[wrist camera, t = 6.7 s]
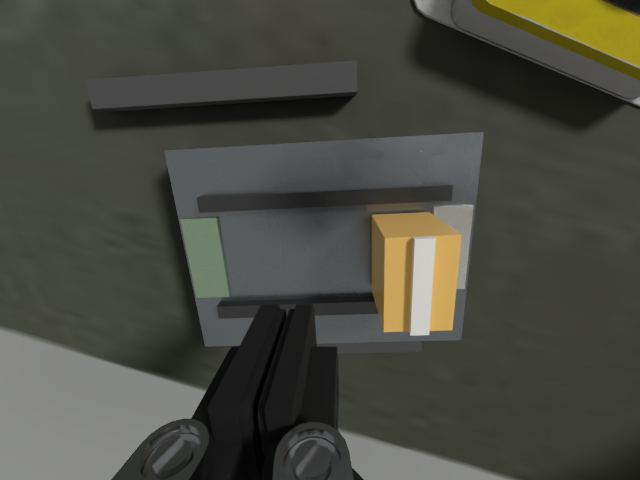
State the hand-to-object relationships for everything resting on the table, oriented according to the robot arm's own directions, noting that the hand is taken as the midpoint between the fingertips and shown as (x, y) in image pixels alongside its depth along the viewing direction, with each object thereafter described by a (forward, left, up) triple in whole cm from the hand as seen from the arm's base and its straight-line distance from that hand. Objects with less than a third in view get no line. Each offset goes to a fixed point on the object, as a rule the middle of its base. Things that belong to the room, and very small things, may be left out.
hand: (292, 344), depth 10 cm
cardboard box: (-5, 0, -7) cm, 9 cm away
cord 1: (+4, -9, -10) cm, 14 cm away
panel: (-1, 0, -10) cm, 10 cm away
